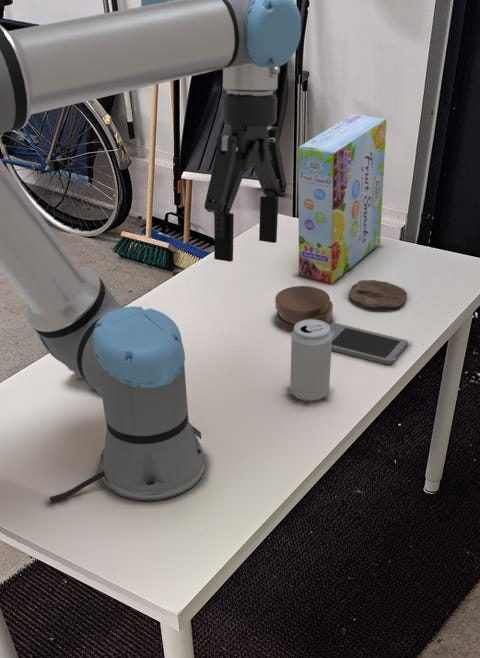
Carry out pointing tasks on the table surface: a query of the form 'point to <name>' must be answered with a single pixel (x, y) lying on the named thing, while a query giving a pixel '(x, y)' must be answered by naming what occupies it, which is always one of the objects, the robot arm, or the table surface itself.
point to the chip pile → (302, 306)
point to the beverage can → (310, 360)
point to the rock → (377, 294)
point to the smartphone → (366, 343)
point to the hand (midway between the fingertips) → (246, 250)
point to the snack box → (340, 196)
